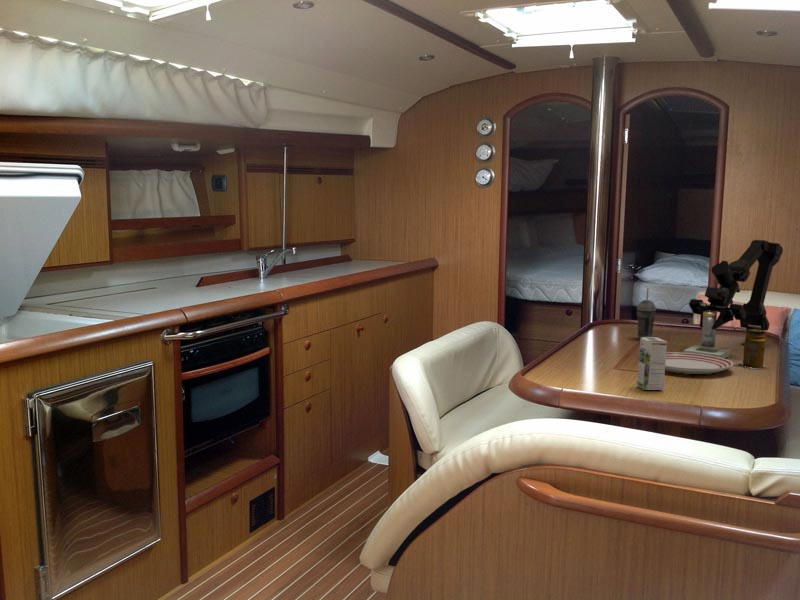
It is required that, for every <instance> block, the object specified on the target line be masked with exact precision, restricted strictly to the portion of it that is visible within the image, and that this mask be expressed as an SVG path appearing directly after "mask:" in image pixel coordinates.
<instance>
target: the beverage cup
mask: <svg viewBox="0 0 800 600" xmlns="http://www.w3.org/2000/svg"><path fill="white" fill-rule="evenodd" d="M649 289H650V288H646V299H644V300H641V301H640V302H639V303H638V305H637V307H636V316H637V336H638V337H637V338H638V340H637V341H639V340H640V339H641V338H642V337H653V336H652V335H653V330H654V323H655V317H656V314H657V313H656V312H657V307H656V304H655V303H654V302H653V301H651V300H649Z"/></svg>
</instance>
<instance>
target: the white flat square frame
mask: <svg viewBox="0 0 800 600" xmlns="http://www.w3.org/2000/svg"><path fill="white" fill-rule="evenodd" d="M683 353H694V354H703V355H710V356H715V357H720V358H724V359H726V358H728V357H730V356H731V349H725V348H718V347H703V346H701V345H696V344H694V345H692V346H690V347H688V348H686V349H684V350H683Z"/></svg>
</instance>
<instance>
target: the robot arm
mask: <svg viewBox="0 0 800 600" xmlns="http://www.w3.org/2000/svg"><path fill="white" fill-rule="evenodd" d="M783 252H784V248H783V246H781V244H780V243H778V242H770V241H768V240H765V239H764V240H763V239H754V240H751V242H750V245H749V246H748V247H747V249H746V250H745V251H744V252H743V253H742V255H741V256H740V257H739V258H738V259H737V260H734V261H731V262H730V263H729V262H728V261H727V260H721V261H720V262H719V263H716V264H715V265H713V266H712V267H711V269H710V270H711V274H712V276H713V278H714V279H715V282H716V284H717V285H719V286H718V287H711V286H710V287H709V286H707V287H706V289H705V293H704V297H706V298H708V299H707V302H708V303H706V302H704V301H703V299H699V298H698V299H697V298H691V299H690V300H689V302H688V306H689V308H690V310H691V312H692V313H693V314H694V315H700V317H699V328H701V329H702V323H703V311H713V312H717V313H719V315H717V320H716V322H715V324H714V326H713V329H714V330H715V329H716V330H717V329H718V328H720V327H721V326H723V325H724V324H727V323H729V322H734V320H736V321H739V326H740V328H742V329H745V337H744V339H745V338H746V334H747V330H748V329H759V330H763V331H765V332H766V331H768V330H769V328H770V322H769V320H768V317H767V310H766V307H765V304H764V303H765V299H766V296H767V292H768V287H769V284H770V279H771V274H772V271H773V268H774V266H776V265H777V264H778V263H779V262H780V259H781V256H782V255H783ZM756 262H758V266H757V270H756V273H755V278H754V282H753V285H752V289H751V294H750V298H749V300H748V301H747V303H745V302H744V303H742V304H740V303H739V304H738V303H734V300H733V298H734V297H735V295H736V293H740V292H741V290H740V285H739V283H746V281H747V280H748V278H749V276H750V274H751V272H750V269H751V268H752V266H753V265H754V264H755V263H756ZM738 282H739V283H738ZM744 344H745V341H743V342H742V343H741V345H743V346H744Z"/></svg>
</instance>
